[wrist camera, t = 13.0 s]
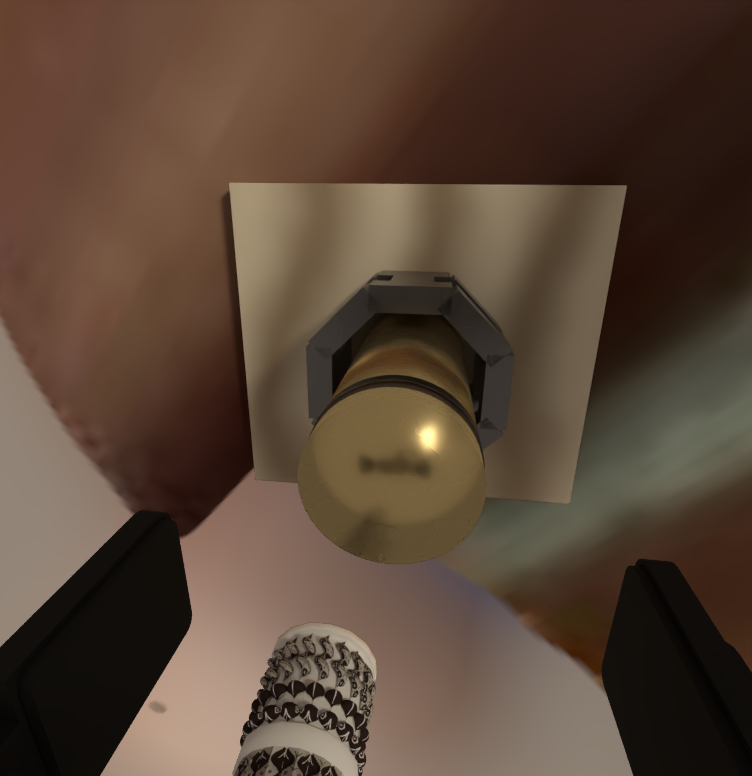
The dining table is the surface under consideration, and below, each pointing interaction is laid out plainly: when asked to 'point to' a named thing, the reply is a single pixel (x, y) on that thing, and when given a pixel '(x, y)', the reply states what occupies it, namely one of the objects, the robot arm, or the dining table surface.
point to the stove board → (485, 282)
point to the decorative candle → (311, 706)
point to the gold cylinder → (397, 447)
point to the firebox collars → (417, 296)
